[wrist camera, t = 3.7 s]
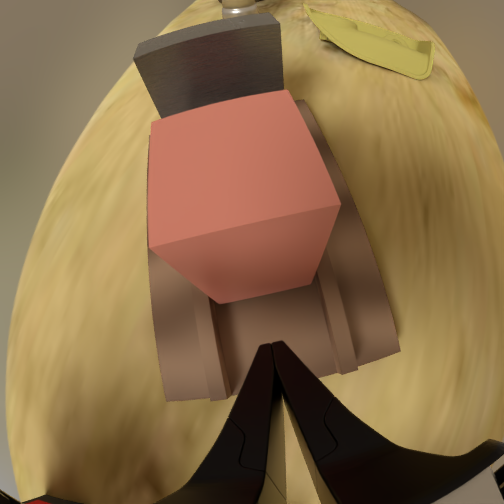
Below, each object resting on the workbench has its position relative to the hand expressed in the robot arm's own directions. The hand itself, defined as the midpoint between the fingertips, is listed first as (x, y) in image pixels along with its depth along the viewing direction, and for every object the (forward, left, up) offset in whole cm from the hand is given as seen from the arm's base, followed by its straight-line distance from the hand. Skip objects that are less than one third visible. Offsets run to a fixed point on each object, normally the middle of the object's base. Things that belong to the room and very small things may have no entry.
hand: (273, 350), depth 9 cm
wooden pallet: (+9, -1, -9) cm, 13 cm away
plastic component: (+33, -29, -10) cm, 45 cm away
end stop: (+19, -3, -8) cm, 21 cm away
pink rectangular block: (+7, -1, -7) cm, 10 cm away
